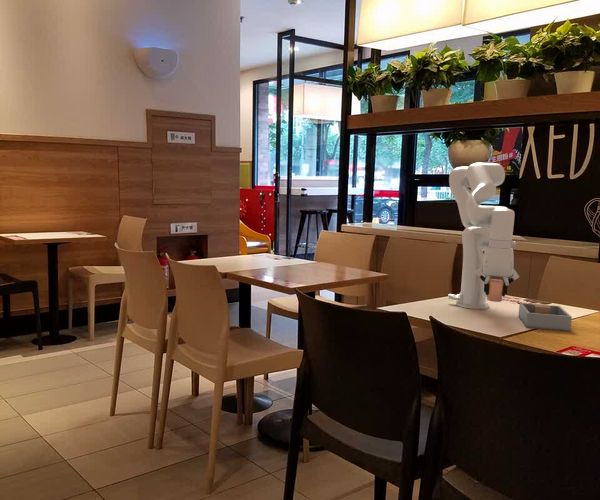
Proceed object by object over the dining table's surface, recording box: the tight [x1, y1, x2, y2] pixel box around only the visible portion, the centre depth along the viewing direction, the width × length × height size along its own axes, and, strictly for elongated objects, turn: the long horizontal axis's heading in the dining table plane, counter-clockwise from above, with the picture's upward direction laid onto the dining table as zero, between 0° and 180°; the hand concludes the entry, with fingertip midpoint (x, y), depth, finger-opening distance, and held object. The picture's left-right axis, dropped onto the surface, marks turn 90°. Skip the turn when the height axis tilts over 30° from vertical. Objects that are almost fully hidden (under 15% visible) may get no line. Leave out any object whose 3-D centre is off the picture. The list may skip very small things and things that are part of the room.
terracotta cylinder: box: [486, 278, 504, 303], centre depth 198 cm, size 5×5×7 cm
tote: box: [518, 302, 572, 333], centre depth 194 cm, size 14×18×5 cm
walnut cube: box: [532, 303, 551, 314], centre depth 198 cm, size 5×5×5 cm
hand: (494, 294), depth 199 cm, fingers closed on terracotta cylinder, 5 cm apart
